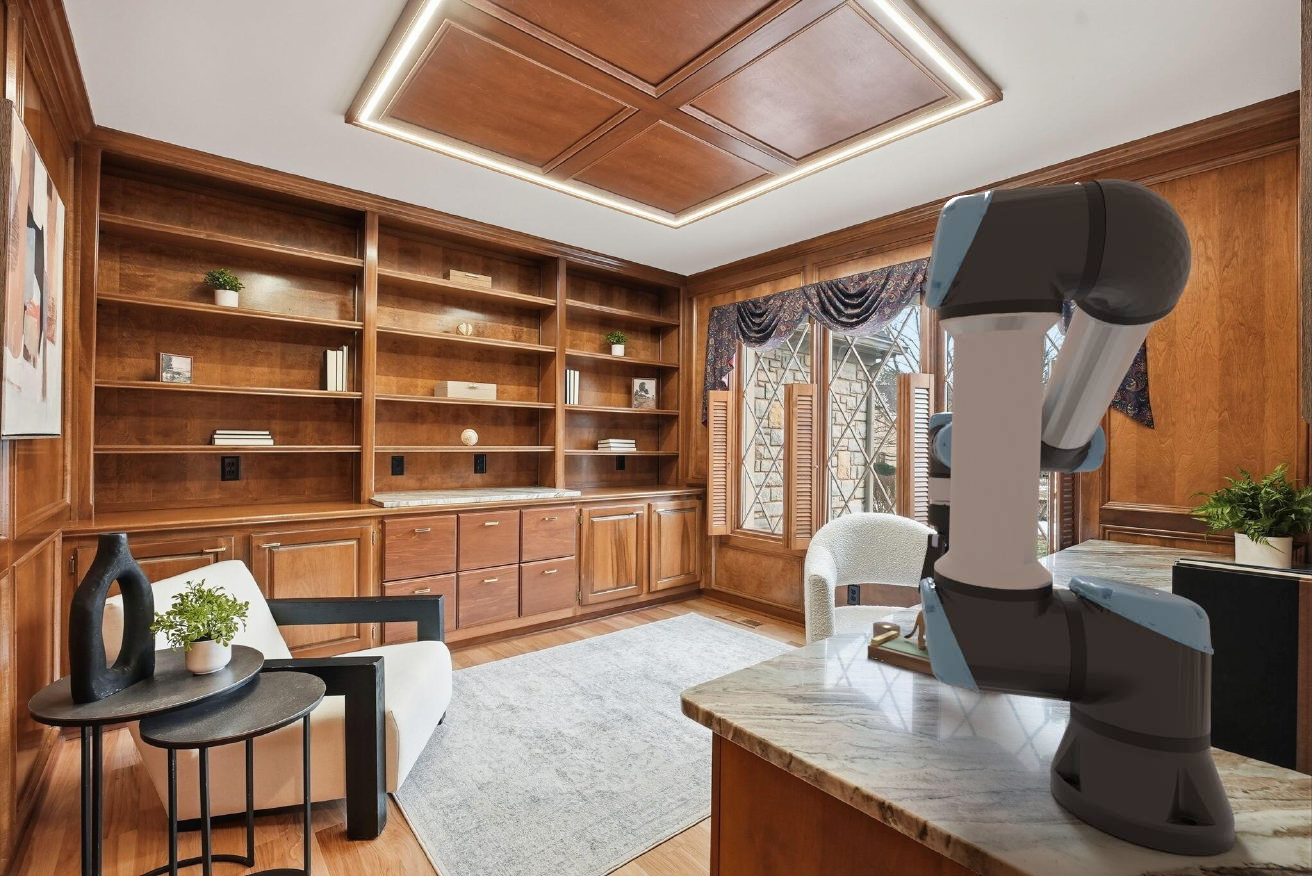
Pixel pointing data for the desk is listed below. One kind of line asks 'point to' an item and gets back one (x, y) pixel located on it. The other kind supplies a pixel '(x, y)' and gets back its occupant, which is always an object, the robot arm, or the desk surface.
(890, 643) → the plinth
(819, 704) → the desk surface
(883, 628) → the paperweight
